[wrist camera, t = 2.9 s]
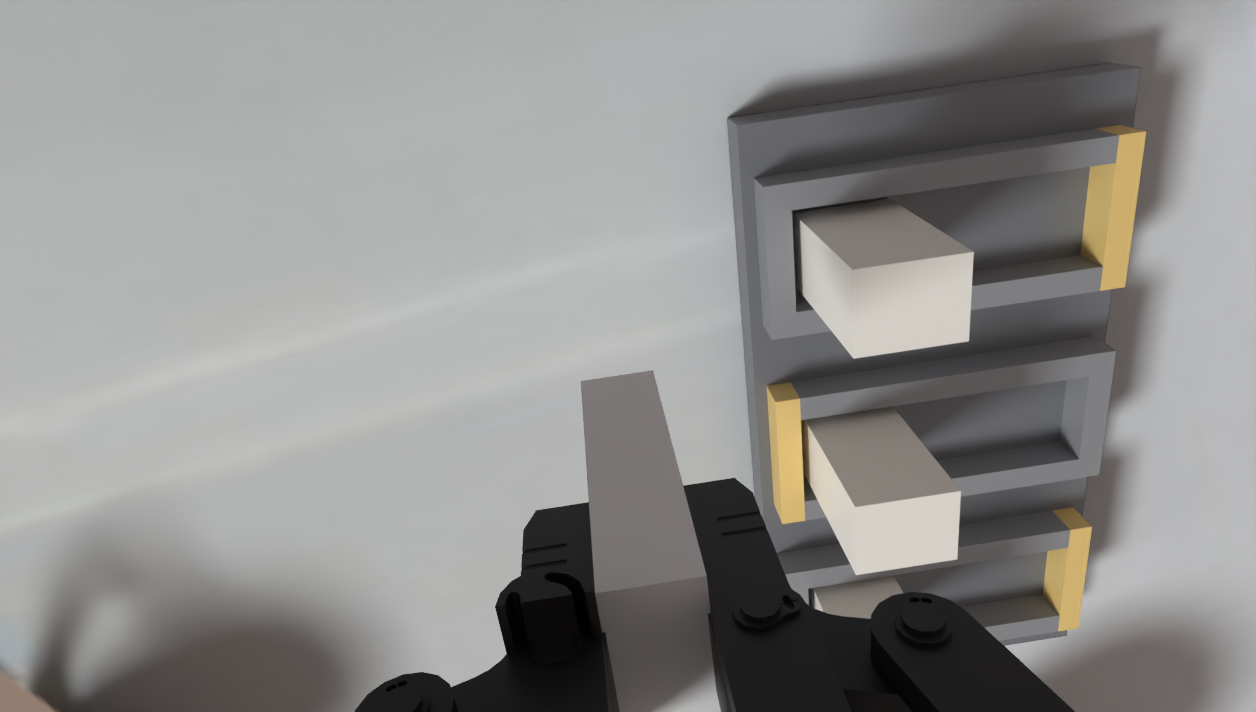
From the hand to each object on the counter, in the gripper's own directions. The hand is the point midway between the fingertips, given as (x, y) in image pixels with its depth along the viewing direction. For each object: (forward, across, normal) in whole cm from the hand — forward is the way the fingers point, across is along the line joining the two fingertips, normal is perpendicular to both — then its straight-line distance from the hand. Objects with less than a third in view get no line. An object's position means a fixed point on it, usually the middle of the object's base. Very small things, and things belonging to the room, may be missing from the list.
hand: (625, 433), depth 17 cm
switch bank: (+11, +11, -6) cm, 16 cm away
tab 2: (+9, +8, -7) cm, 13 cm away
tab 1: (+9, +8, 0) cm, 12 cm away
